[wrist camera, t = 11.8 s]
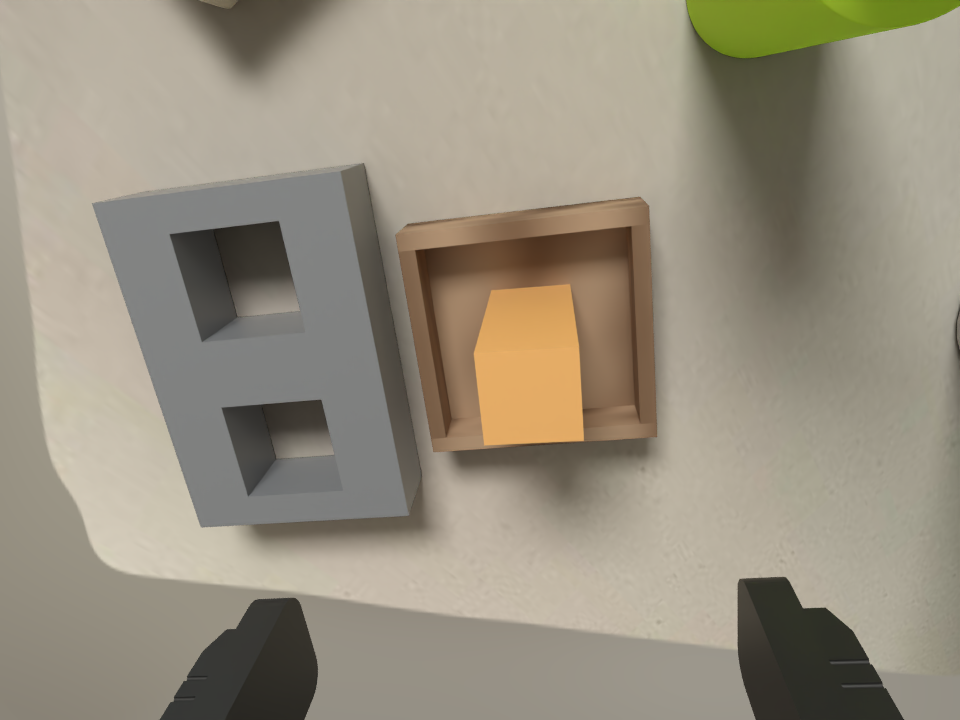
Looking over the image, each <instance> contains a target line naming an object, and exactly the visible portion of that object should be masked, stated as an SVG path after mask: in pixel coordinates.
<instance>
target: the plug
mask: <svg viewBox="0 0 960 720" xmlns="http://www.w3.org/2000/svg"><path fill="white" fill-rule="evenodd" d="M474 361H475V369H476V378H477V387H478V396H479V404H480V413H481V422H482V430H483V439H484V446H485V445H506V444H527V443H548V442H570V441H584V431H583V412H582V393H581V374H580V354H579V342H578V335H577V328H576V321H575V314H574V307H573V300H572V293H571V286H570V284H568V285H555V286H542V287H528V288H515V289H502V290H491V293H490V297H489V301H488V304H487V308H486V311H485V315H484V318H483V322H482V326H481V329H480V333H479V336H478V340H477V343H476V347H475V351H474Z"/></svg>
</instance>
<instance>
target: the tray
mask: <svg viewBox="0 0 960 720" xmlns="http://www.w3.org/2000/svg"><path fill="white" fill-rule="evenodd" d="M396 241H397V247H398V252H399V258H400V264H401V270H402V275H403V281H404V287H405V292H406V298H407V304H408V309H409V315H410V321H411V327H412V332H413V338H414V344H415V349H416V355H417V361H418V367H419V372H420V378H421V384H422V389H423V395H424V401H425V406H426V412H427V418H428V424H429V429H430V435H431V441H432V446H433V452H445V451H459V450H474V449H488V448H503V447H517V446H532V445H547V444H561V443H576V442H590V441H605V440H619V439H634V438H648V437H657V419H656V390H655V362H654V333H653V305H652V276H651V248H650V219H649V205H648V204H647V203H646V202H645V201H644V200H643V199H642V198H641V197H634V198H625V199H617V200H608V201H600V202H591V203H582V204H574V205H565V206H557V207H548V208H540V209H531V210H522V211H514V212H505V213H497V214H488V215H480V216H471V217H462V218H454V219H445V220H437V221H428V222H420V223H411V224H407V225H406V226H405V227H404V228H403V229H402V230H401V231H399V232H398V233H397V234H396ZM568 284H570V286H571V293H572V300H573V307H574V314H575V321H576V328H577V335H578V342H579V354H580V374H581V393H582V412H583V431H584V441H570V442H548V443H527V444H506V445H485V446H484V439H483V430H482V422H481V413H480V404H479V396H478V387H477V378H476V369H475V361H474V351H475V347H476V343H477V340H478V336H479V333H480V329H481V326H482V322H483V318H484V315H485V311H486V308H487V304H488V301H489V297H490V293H491V290H502V289H515V288H528V287H542V286H555V285H568Z"/></svg>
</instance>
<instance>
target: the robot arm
mask: <svg viewBox="0 0 960 720" xmlns="http://www.w3.org/2000/svg"><path fill="white" fill-rule="evenodd" d="M957 341H958V345H959V349H960V313H959V316H958V320H957ZM738 656H739V664H740V669H741V673H742V678H743V682H744V686H745V689H746V692H747V695H748V698H749V701H750V704H751V707H752V710H753V713H754V716H755V719H756V720H904V719H903V717H902V715H901V714H900V712H899V710H898V709H897V707H896V705H895V703H894V702H893V700H892V698H891V696H890V695H889V693H888V691H887V689H886V688H884V687H883V685H882V681H881V679H880V677H879V676H878V674H877V672H876V670H875V669H874V667H873V665H870V663H869V658H868V657H867V655H866V653H865V651H864V650H863V648H862V646H861V644H860V643H859V641H858V639H857V638H856V636H855V634H854V632H853V631H852V630H851V629H850V628H849V627H847V626H846V625H845V624H844V623H843V622H842V621H840V620H839V619H838V618H837V617H836V616H835V615H833V614H832V613H831V612H830V611H829V610H828V609H826V608H805V609H803V608H802V606H801V604H800V602H799V600H798V598H797V596H796V594H795V592H794V590H793V588H792V586H791V584H790V582H789V581H788V579H787V578H786V577H768V578H746V579H739V582H738ZM317 677H318V666H317V659H316V655H315V652H314V648H313V645H312V641H311V638H310V635H309V631H308V628H307V625H306V621H305V618H304V615H303V611H302V608H301V605H300V603H299V601H298V600H297V599H296V598H277V599H258V600H255V601H254V602H253V603H251V605H250V606H249V608H248V609H247V611H246V613H245V614H244V616H243V618H242V619H241V621H240V623H239V625H238V626H237V628H236V629H227V630H226V631H224V632H223V633H222V634H221V635H220V636H219V637H218V638H217V639H216V640H215V641H214V642H212V643H211V644H210V645H209V646H208V647H207V648H206V649H205V650H204V651H203V652H202V653H201V655H200V657H199V658H198V660H197V662H196V663H195V665H194V666H193V668H192V669H191V671H190V672H189V674H188V676H187V681H184V682H183V684H182V685H181V687H180V688H179V690H178V692H177V693H176V695H175V696H174V702H171V703H170V704H169V706H168V707H167V709H166V711H165V712H164V714H163V715H162V717H161V719H160V720H304V719H305V717H306V714H307V712H308V709H309V707H310V704H311V702H312V699H313V697H314V693H315V690H316V685H317Z"/></svg>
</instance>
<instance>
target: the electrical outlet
mask: <svg viewBox="0 0 960 720" xmlns="http://www.w3.org/2000/svg"><path fill="white" fill-rule="evenodd" d="M199 1H202V2H205V3H208V4H212V5H215V6H218V7H222V8H225V9H230V8H232V7H233V6H234V5H235V4H236V2H237V1H238V0H199Z"/></svg>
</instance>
